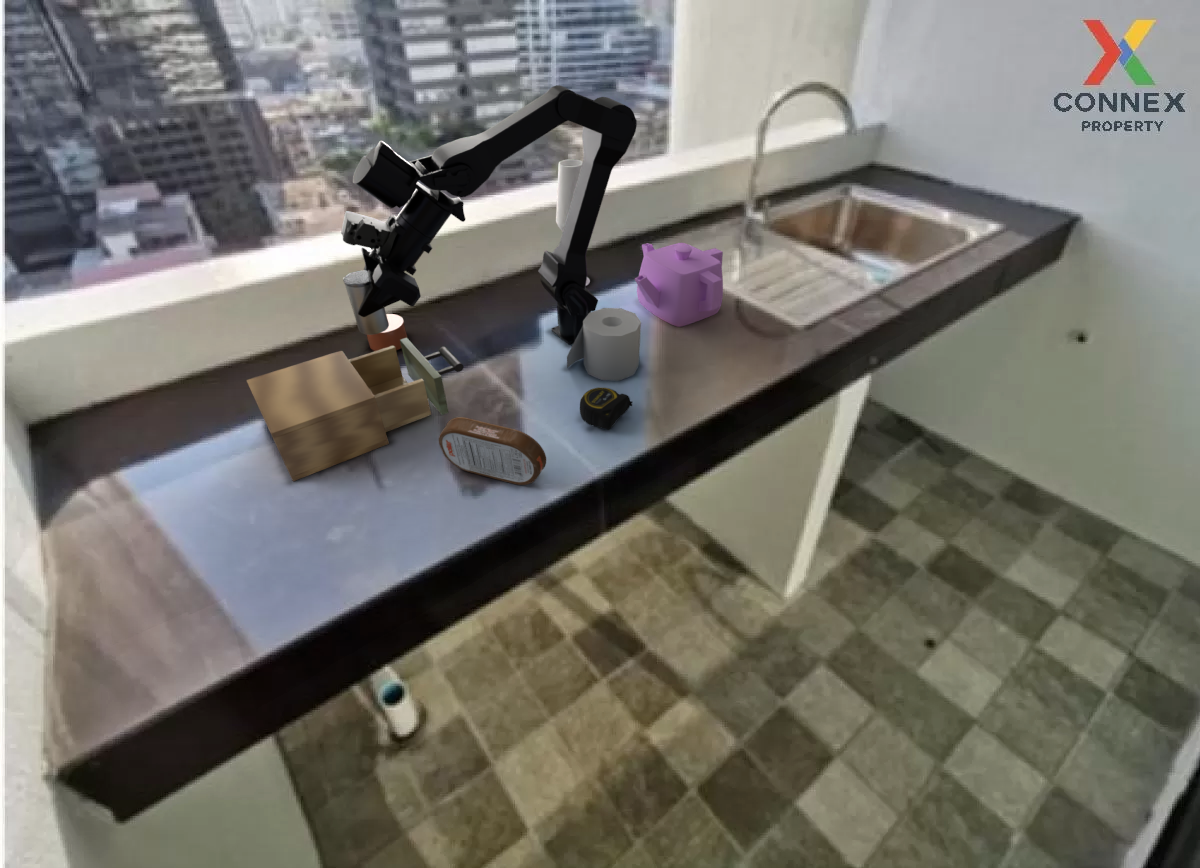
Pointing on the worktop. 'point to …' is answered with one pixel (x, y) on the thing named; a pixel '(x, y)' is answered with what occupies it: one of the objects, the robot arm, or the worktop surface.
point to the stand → (389, 334)
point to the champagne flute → (566, 190)
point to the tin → (492, 451)
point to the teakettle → (680, 283)
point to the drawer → (405, 382)
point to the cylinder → (357, 291)
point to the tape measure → (603, 407)
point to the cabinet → (319, 413)
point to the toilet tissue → (608, 344)
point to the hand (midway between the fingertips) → (358, 308)
